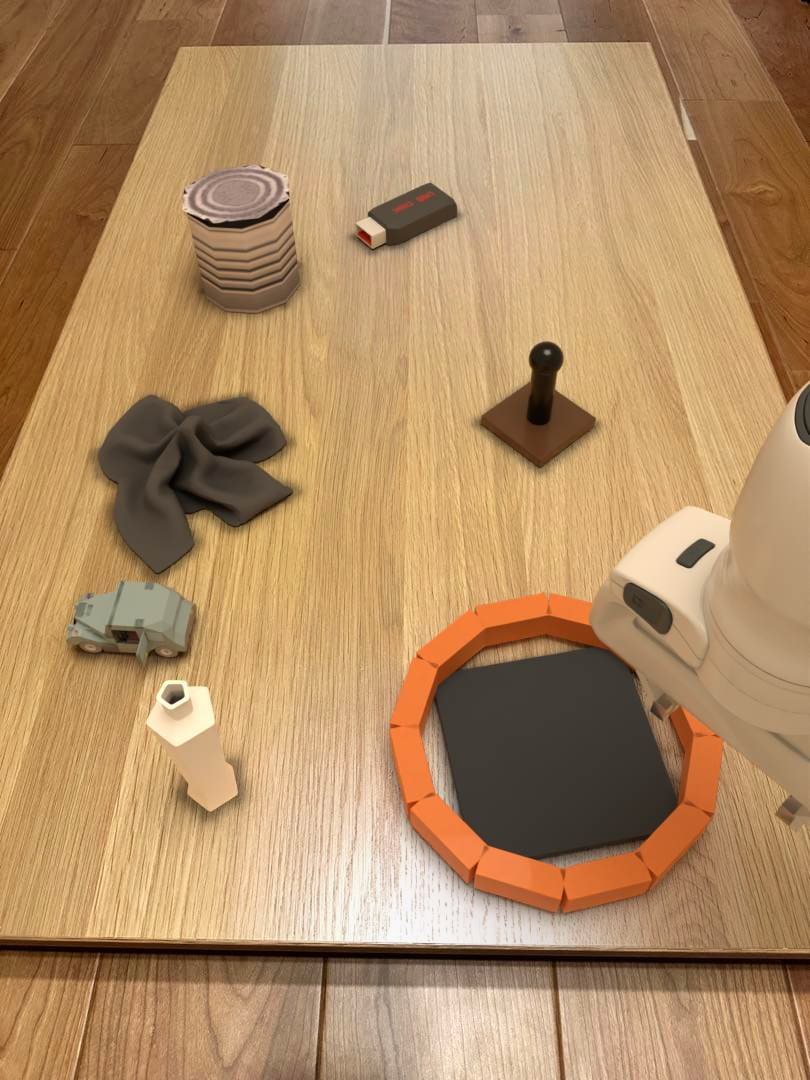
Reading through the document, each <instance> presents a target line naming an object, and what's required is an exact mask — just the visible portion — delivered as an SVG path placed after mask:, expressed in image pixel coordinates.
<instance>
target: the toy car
mask: <svg viewBox="0 0 810 1080" xmlns="http://www.w3.org/2000/svg"><path fill="white" fill-rule="evenodd" d="M73 607H74V610H75V612H74V616H73V623H72V622H68V623H67V626H66V630H67V631H68V632H67V635H66V638H65V642H66V644H67V645H68V646H69V645H70V646H78V645H79V647H80V649H82V650H83V651H84V652H88V653H93V654H94V653H95V654H96V653H97V654H98V653H101V652H102V651H104V652H114V653H130V654H135V657H136V659H137V661H138V662H139V665H141V666H142V668H145V667H146V664H147V660H148V656H149V653H150V652H151V651H153V650H154V652H155V653H156V654H157V655H159V656H160V657H163V658H174V657H175V658H176V657H177V656H178V654H179V652H184V653H186V652H187V651H188V646H189V642H190V638H191V634H192V630H193V626H194V622H195V617H196V614H197V610H198V607H197V604H196V603H195V602H193V601H192V600H190V599H188V598H186V597H185V596H183V595H182V594H181V593H180V592H179V591H177V590H176V589H175V588H173V587H171V586H168V585H164V584H160V583H158V582H149V581H132V580H118V583H117V586H116V589H115V590H113V591H109V592H106V593H103V594H99V593H94V592H85V593H83V594H82V595H81V596H80V597H79V599H78V601H75V602H74V605H73Z"/></svg>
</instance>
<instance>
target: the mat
mask: <svg viewBox="0 0 810 1080" xmlns="http://www.w3.org/2000/svg"><path fill="white" fill-rule="evenodd" d="M434 700H435V705H436V709H437V714H438V718H439V723H440V726H441V727H440V728H441V732H442V735H443V739H444V744H445V749H446V753H447V756H448V763H449V767H450V771H451V776H452V780H453V784H454V789H455V793H456V797H457V803H458V807H459V811H460V815H461V819H462V820H463V821H464V822H465V823H466V824H467V825H468V826H469V827H470V828H471V829H472V830H473V831H474V832H475V833H476V834H477V835H478V836H479V837H480V838H481V839H482V840H483V841H484V842H485V843H486V844H487V845H488V846H491V847H494V848H497V849H501V850H504V851H507V852H511V853H514V854H517V855H521V856H524V857H527V858H531V859H534V860H541V859H546V858H551V857H556V856H562V855H567V854H572V853H577V852H582V851H588V850H592V849H599V848H602V847H609V846H614V845H620V844H624V843H631V842H635V841H640V840H645V839H646V840H647V839H648V838H649V837H650V836H651V835H652V833H653V832H654V831H655V830H656V829H657V828H658V827H659V826H660V825H661V824H662V823H663V822H664V821H665V820H666V819H667V818H668V817H669V816H670V815H671V814H672V812H673V811H674V810H675V809H676V808H677V803H678V798H677V795H676V793H675V790H674V787H673V784H672V781H671V778H670V776H669V773H668V771H667V768H666V766H665V762H664V760H663V758H662V755H661V751H660V750H659V747H658V743H657V741H656V738H655V735H654V733H653V730H652V727H651V724H650V722H649V719H648V715H647V714H646V711H645V707H644V704H643V702H642V699H641V697H640V695H639V692H638V688H637V686H636V683H635V680H634V678H633V676H632V673H631V670H630V667H629V666H628V665H627V664H625V663H624V662H623V661H622V660H621V659H619V658H618V657H617V656H616V655H614V654H613V653H612V652H611V651H610V650H607V649H603V648H599V647H595V646H592V647H586V648H581V649H576V650H570V651H563V652H558V653H552V654H546V655H540V656H533V657H528V658H522V659H516V660H510V661H504V662H500V663H494V664H493V663H492V664H488V665H480V666H476V667H470V668H463V669H457V670H456V671H454V672H453V673H452V674H451V675H450V676H449V677H447V678H446V679H445V680H444V681H443V682H441V683H440V684H439V685H438V687H437V690H436V693H435V696H434Z"/></svg>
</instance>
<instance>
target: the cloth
mask: <svg viewBox="0 0 810 1080" xmlns="http://www.w3.org/2000/svg"><path fill="white" fill-rule="evenodd" d="M287 442H288V441H287V438H286V437H285V435H284V433H283V430H282V428H281V425H280V424H279V423H278V422H277V421H276V420H275V419H274V417H273V416H272V415H271V414H270V412H269V411H268V410H267V409H266V408H264V407H263V406H262V405H261V404H259V403H258V402H256V401H254V400H252V399H249V397H248V396H247V397H246V396H238V397H232V398H227V399H222V400H219V401H214V402H211V403H206V404H203V405H199V406H196V407H192V408H190V409H187V410H186V411H184V412H182V410H180V408H179V407H178V406H176V404H174V403H172V402H170V401H168V400H164V399H161V398H160V397H159V396H157V395H155V394H147V395H145V396H143V397H142V398H140V399H138V401H136V402H135V403H133V405H132V406H130V407H129V409H128V410H127V411H126V412H125V413H124V414H123V415H122V416H121V417H120V418H119V419H118V420H117V421H116V422H115V424H114V425H112V427H111V428H110V429H109V431H108V432H107V434H106V436H105V438H104V441H103V443H102V445H101V446H100V448H99V451H98V453H97V459H98V462H99V466H100V468H101V470H102V472H103V473H104V475H105V476H106V477H107V478H108V479H109V480H111V481H113V482H114V483H116V484H117V490H116V491H117V492H116V497H115V503H114V508H113V518H114V522H115V525H116V528H117V530H118V532H119V533H120V535H121V537H122V539H123V540H124V542H125V543H126V544H127V546H128V547H129V548H130V549H131V550H132V552H134V553H135V554H136V555H137V556H138V557H139V558H140V559H141V560H142V561H143V562H144V564H146V566H148V567H149V568H150V569H151V570H152V571H153V572H154V573H155V574H160V573H162V572H164V571H165V570H166V569H168V568H170V567H171V566H172V565H174V564H175V563H177V562H178V561H179V560H180V559H182V557H184V556H185V555H186V554H187V553H188V552H189V551H191V549H192V548H193V546H194V544H195V539H193V536H192V531H191V528H190V525H189V521H188V517H187V514H188V515H189V514H193V513H197V512H200V511H202V510H209V511H211V512H212V513H213V514H214V515H215V516H216V517H218V518H220V519H221V520H222V521H223V522H225V523H226V524H227V525H229V526H232V527H234V528H235V527H239V526H240V525H241V524H245V523H247V522H248V521H249V520H251V519H252V518H253V517H255V516H256V515H257V514H259V513H261V512H262V511H264V510H266V509H267V508H269V507H271V506H272V505H274V504H276V503H278V502H279V501H281V500H284V499H285V498H287V497H288V496H290V494H292V493H293V488H291V486H288V485H285V484H284V483H282V482H280V481H279V480H277V479H276V478H275V477H273V475H271V474H270V473H268V472H267V471H266V470H265V469H263V468H262V467H261V466H259V465H258V464H257V463H259V462H263V461H266V460H268V459H269V458H271V457H273V456H274V455H276V454H277V453H278V452H279V451H280V450H282V448H283V447H284V446H285V445H286V444H287Z"/></svg>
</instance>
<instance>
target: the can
mask: <svg viewBox="0 0 810 1080" xmlns="http://www.w3.org/2000/svg"><path fill="white" fill-rule="evenodd" d="M182 197H183V198H182V209H181V210H182V211H183V212H185V213H186V216H187V221H188V226H189V229H190V230H189V231H190V234H191V238H192V242H193V246H194V250H195V255H196V256H195V257H196V260H197V265H198V269H199V273H200V278H201V282H202V287H203V291H204V296H205V299H206V300H208V301H209V302H210V303H212V304H214V305H215V306H217V307H218V308H220V309H222V310H223V311H225V312H227V313H241V314H255V315H256V314H257V315H258V314H260V313H263V312H265V311H269V310H271V309H273V308H276V307H279V306H282V305H285V304H286V303H287V302H289V300H290V298H291V297H293V295H294V293H296V291H297V290H298V289H299V287H301V279H300V271H299V263H298V255H297V247H296V240H295V233H294V232H295V231H294V224H293V216H292V209H291V202H290V201H291V200H290V183H289V175H287V174H284V173H281V172H278V171H276V170H274V169H271V168H268V167H265V166H263V165H259V164H249V165H241V166H233V167H225V168H216V169H213V170H212V171H210V172H209V173H207V174H205V175H203V176H201V177H199V178H198V179H196V180H195V181H193V182H192V183H190V184H188V185H187V186H185V187H183V196H182Z"/></svg>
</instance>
